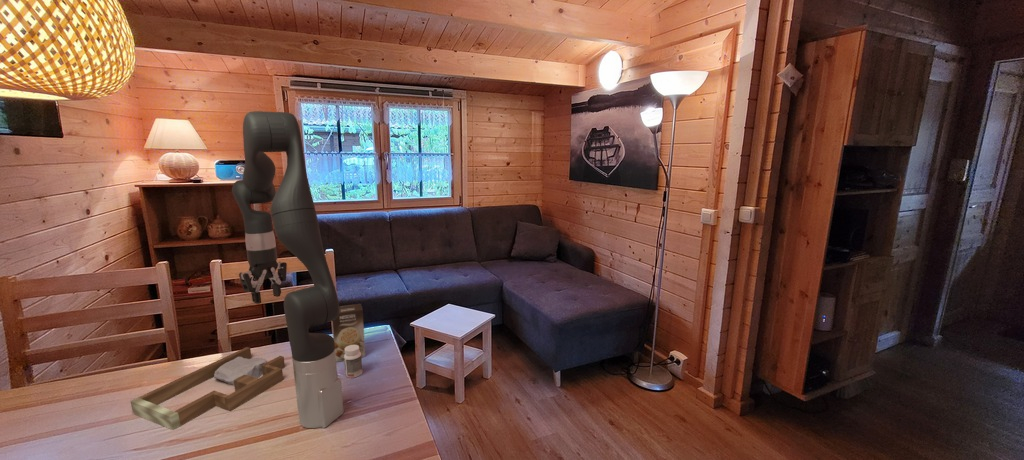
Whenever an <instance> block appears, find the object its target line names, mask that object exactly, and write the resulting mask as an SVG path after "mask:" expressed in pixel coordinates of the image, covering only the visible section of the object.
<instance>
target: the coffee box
mask: <svg viewBox="0 0 1024 460" xmlns="http://www.w3.org/2000/svg"><path fill="white" fill-rule="evenodd" d="M331 323H332V337H333V339H334V342H335V354H336V363H338V362H344V355H345V348H346V347H347V346H349V345H358V346H359V350H360V352H361V357H362V358H365V357H366V341H365V326H364V311H363V306H362V303H354V304H346V305H339V315H338V317H337V318H336V319H335V320H333V321H331Z"/></svg>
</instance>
